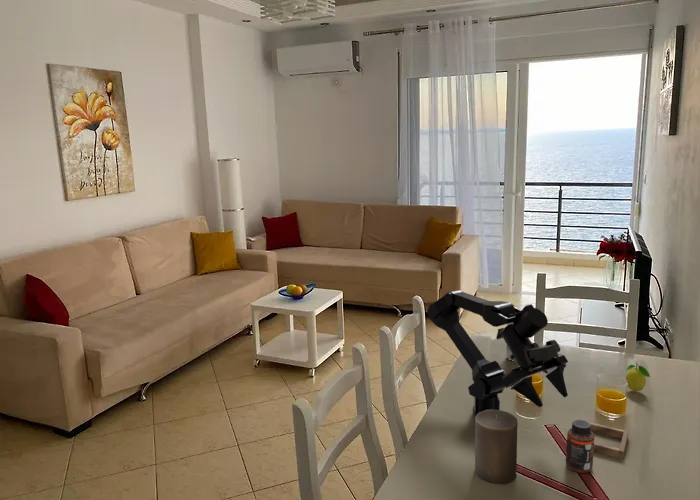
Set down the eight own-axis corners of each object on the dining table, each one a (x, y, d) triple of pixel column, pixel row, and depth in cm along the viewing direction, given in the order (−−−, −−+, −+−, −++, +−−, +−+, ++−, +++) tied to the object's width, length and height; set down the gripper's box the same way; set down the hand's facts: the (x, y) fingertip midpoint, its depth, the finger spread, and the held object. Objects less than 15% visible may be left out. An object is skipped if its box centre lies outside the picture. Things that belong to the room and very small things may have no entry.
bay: (581, 448, 137) (581, 441, 136) (588, 428, 146) (589, 422, 145) (623, 459, 132) (623, 451, 131) (627, 438, 141) (628, 431, 140)
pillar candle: (524, 479, 125) (526, 419, 122) (487, 488, 122) (488, 427, 120) (501, 457, 134) (503, 401, 131) (466, 464, 132) (467, 407, 129)
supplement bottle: (595, 475, 126) (598, 431, 124) (568, 473, 127) (570, 429, 125) (589, 460, 132) (592, 418, 129) (563, 458, 133) (565, 416, 131)
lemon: (648, 398, 162) (650, 366, 160) (626, 395, 164) (628, 364, 162) (644, 388, 168) (646, 358, 166) (623, 386, 170) (625, 356, 168)
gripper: (512, 338, 130) (548, 398, 123) (563, 324, 139) (599, 378, 132) (488, 359, 138) (520, 416, 131) (537, 343, 148) (570, 396, 140)
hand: (554, 401), depth 133 cm, fingers open, 9 cm apart
